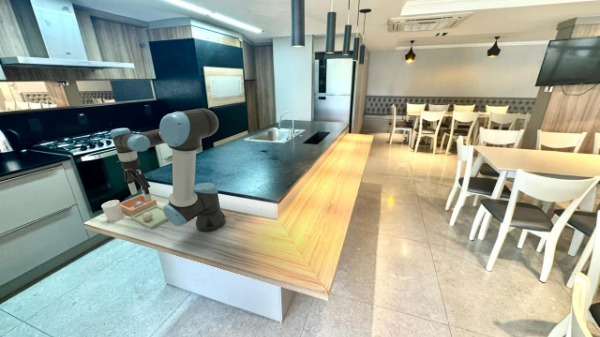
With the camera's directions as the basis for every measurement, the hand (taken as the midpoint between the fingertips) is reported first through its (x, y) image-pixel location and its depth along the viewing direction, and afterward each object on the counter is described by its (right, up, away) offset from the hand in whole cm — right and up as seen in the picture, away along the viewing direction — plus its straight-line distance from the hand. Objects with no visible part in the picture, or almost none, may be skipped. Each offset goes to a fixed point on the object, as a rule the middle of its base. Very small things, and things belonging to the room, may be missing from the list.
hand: (141, 196), depth 123 cm
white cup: (-20, -14, +8) cm, 25 cm away
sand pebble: (+1, -14, +5) cm, 15 cm away
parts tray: (+2, -13, +8) cm, 15 cm away
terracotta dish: (-13, -10, +17) cm, 24 cm away
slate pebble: (-14, -5, +16) cm, 22 cm away
